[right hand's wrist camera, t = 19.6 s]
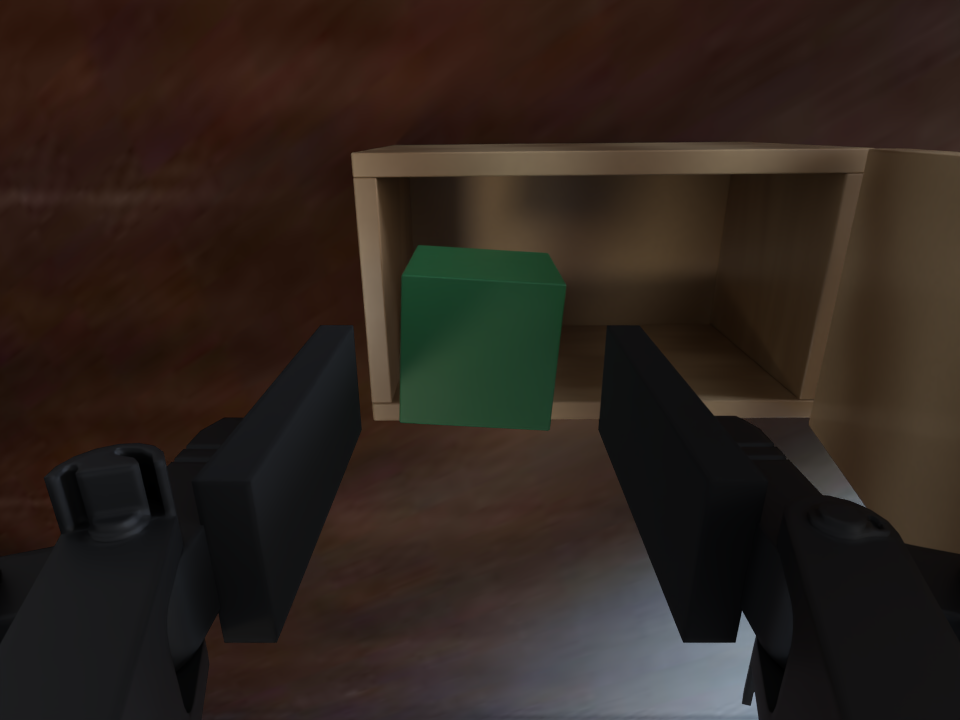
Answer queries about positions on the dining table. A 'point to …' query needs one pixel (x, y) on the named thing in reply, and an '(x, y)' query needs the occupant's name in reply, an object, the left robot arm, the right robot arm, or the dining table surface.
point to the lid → (899, 348)
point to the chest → (631, 254)
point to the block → (479, 337)
